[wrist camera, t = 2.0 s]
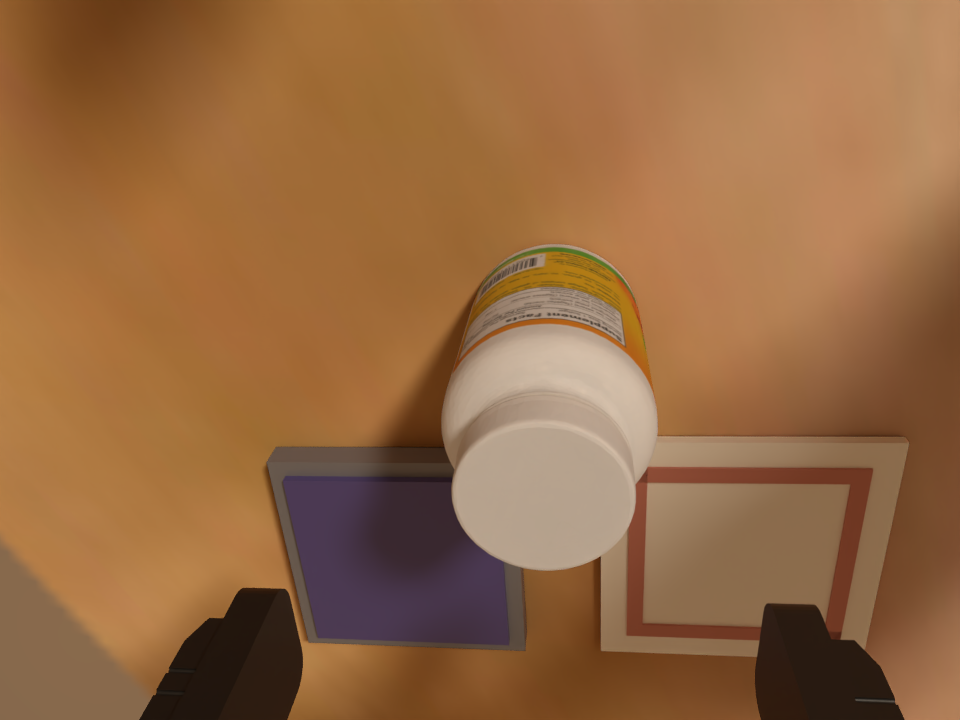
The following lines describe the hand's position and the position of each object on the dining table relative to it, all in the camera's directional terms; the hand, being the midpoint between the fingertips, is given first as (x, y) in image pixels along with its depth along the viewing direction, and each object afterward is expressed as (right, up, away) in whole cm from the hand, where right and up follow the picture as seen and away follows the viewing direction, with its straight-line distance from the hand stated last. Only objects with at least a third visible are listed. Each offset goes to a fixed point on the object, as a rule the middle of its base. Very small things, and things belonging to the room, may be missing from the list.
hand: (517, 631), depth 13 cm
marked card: (+9, -2, +15) cm, 18 cm away
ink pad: (-3, -3, +17) cm, 18 cm away
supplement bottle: (+2, +6, +12) cm, 14 cm away
